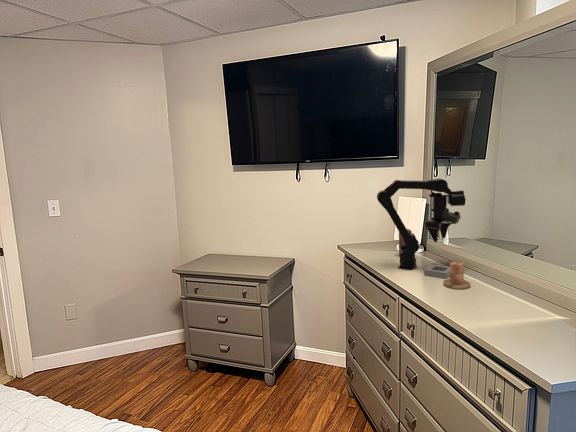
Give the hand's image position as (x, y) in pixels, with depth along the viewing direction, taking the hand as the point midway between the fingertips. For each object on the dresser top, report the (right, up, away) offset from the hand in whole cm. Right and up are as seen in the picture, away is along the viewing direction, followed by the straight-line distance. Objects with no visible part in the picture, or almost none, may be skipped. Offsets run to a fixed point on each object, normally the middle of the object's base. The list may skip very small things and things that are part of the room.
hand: (439, 240), depth 177 cm
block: (-2, -16, -23) cm, 28 cm away
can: (-8, -10, +24) cm, 28 cm away
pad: (-2, -17, -23) cm, 28 cm away
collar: (-3, -15, -8) cm, 17 cm away
